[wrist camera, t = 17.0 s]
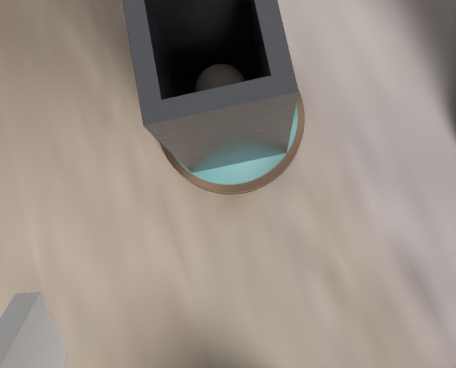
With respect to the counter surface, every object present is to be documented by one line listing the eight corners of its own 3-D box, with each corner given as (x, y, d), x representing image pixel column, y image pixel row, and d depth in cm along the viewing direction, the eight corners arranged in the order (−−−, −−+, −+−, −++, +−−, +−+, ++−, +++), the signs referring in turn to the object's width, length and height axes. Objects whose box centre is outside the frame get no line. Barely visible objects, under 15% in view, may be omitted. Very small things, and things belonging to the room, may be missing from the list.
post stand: (333, 128, 32) (356, 84, 23) (224, 224, 32) (208, 215, 23) (237, 30, 34) (227, -42, 25) (134, 120, 34) (88, 77, 25)
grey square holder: (286, 153, 30) (298, 91, 18) (191, 173, 31) (143, 125, 19) (266, 63, 31) (265, -50, 19) (175, 83, 32) (120, -14, 20)
